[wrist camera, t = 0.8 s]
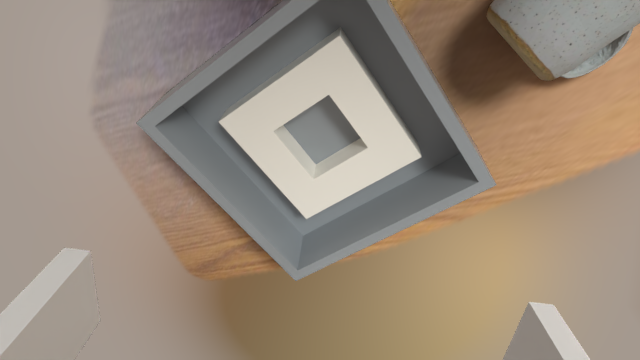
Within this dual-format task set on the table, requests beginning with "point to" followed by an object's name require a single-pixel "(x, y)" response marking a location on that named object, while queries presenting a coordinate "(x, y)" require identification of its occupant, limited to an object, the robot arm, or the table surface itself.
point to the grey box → (320, 132)
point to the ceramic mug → (564, 32)
